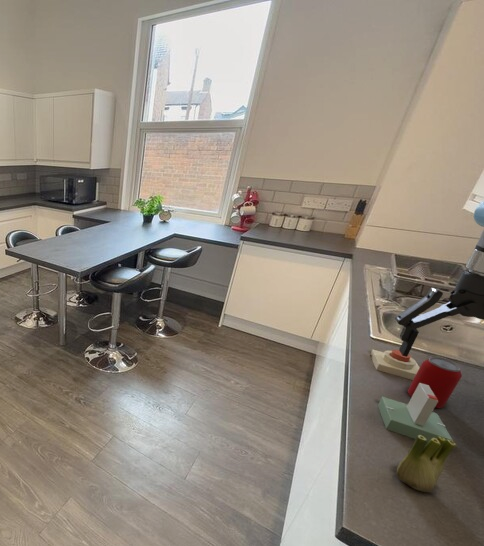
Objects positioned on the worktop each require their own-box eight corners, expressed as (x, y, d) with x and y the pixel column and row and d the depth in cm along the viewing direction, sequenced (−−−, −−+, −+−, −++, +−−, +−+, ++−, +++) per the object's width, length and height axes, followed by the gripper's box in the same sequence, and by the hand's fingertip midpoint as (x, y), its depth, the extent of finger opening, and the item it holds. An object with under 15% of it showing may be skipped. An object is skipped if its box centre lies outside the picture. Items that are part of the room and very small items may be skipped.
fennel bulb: (392, 481, 62) (418, 437, 57) (390, 464, 65) (414, 421, 61) (435, 501, 58) (466, 456, 54) (429, 481, 62) (458, 438, 57)
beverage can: (445, 403, 82) (467, 366, 77) (440, 414, 78) (462, 375, 74) (409, 387, 87) (428, 352, 83) (403, 397, 83) (422, 360, 79)
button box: (412, 366, 96) (417, 355, 95) (422, 382, 89) (428, 371, 88) (369, 355, 101) (374, 344, 100) (376, 369, 94) (381, 359, 93)
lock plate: (432, 422, 76) (438, 413, 74) (447, 450, 69) (454, 440, 67) (376, 405, 81) (381, 395, 79) (385, 429, 74) (390, 419, 72)
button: (406, 357, 94) (408, 352, 94) (410, 364, 91) (412, 359, 91) (388, 352, 96) (390, 348, 96) (392, 359, 93) (394, 354, 93)
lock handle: (406, 406, 76) (419, 381, 73) (415, 409, 75) (429, 384, 73) (414, 423, 72) (428, 397, 69) (423, 426, 71) (439, 400, 68)
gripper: (411, 267, 64) (374, 353, 71) (620, 296, 51) (547, 396, 59) (400, 257, 70) (367, 338, 77) (585, 281, 57) (523, 374, 65)
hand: (445, 363), depth 68 cm, fingers open, 13 cm apart
